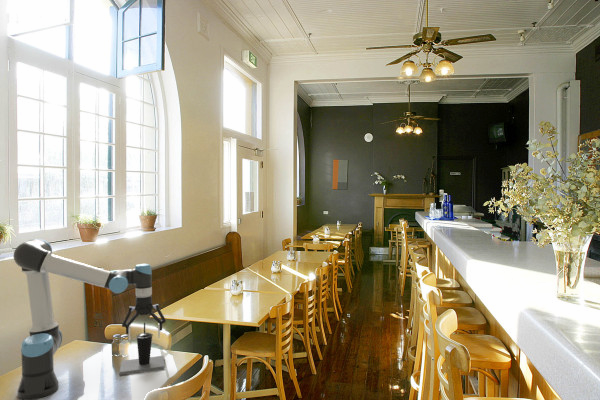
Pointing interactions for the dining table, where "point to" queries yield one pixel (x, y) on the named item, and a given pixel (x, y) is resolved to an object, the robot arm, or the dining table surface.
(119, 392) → the dining table surface
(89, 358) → the dining table surface
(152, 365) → the slate board
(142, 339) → the drinking cup
